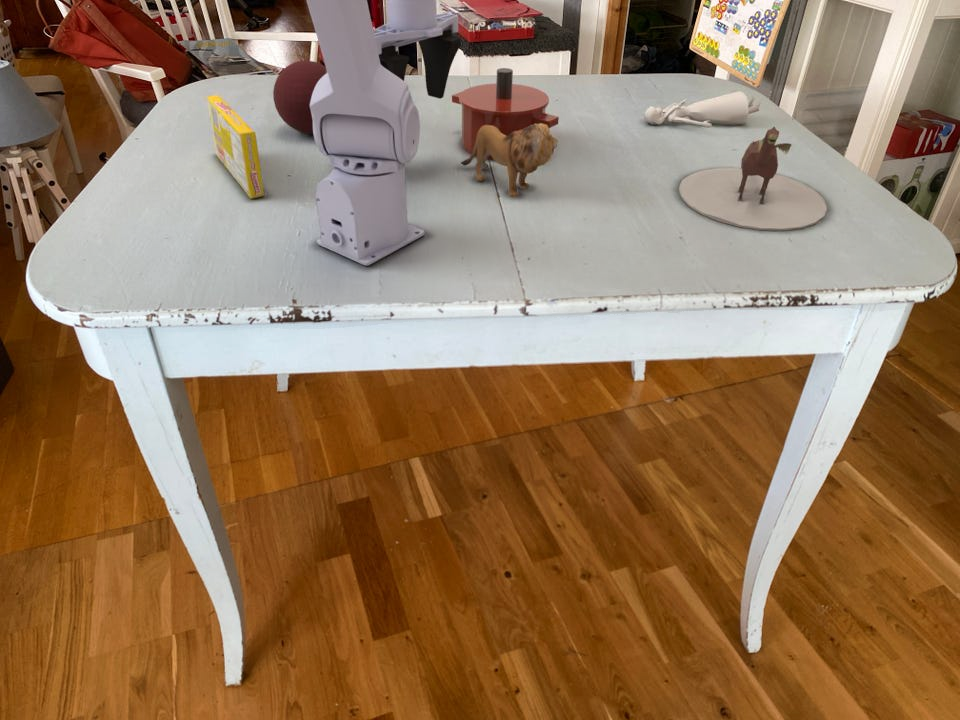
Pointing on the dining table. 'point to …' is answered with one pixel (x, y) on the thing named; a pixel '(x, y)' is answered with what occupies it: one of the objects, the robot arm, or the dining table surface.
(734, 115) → the woman figurine
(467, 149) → the pot
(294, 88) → the decorative ball
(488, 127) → the lion figurine
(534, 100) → the pot lid
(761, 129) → the dining table surface
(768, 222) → the brown figure on disc
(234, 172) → the candy box
